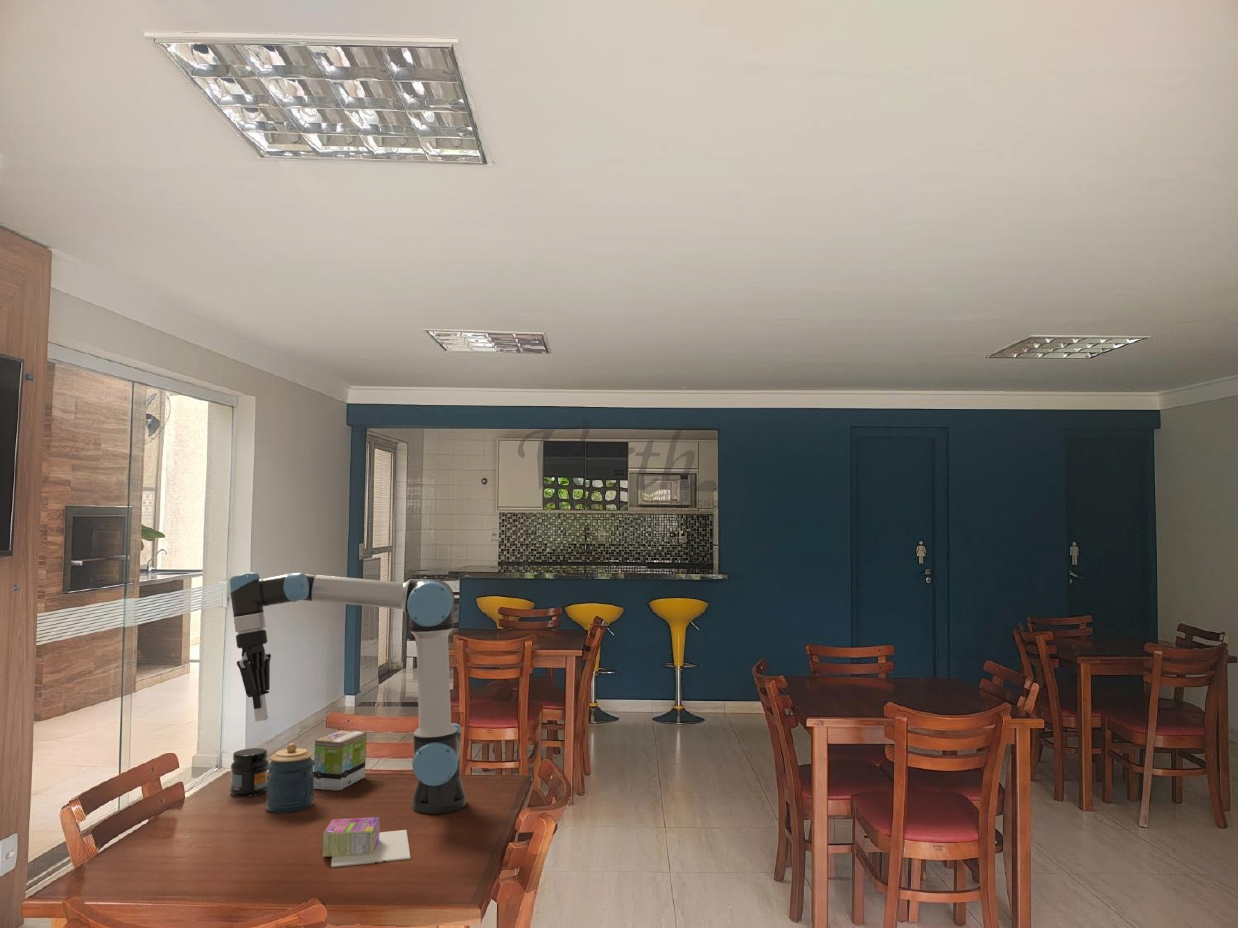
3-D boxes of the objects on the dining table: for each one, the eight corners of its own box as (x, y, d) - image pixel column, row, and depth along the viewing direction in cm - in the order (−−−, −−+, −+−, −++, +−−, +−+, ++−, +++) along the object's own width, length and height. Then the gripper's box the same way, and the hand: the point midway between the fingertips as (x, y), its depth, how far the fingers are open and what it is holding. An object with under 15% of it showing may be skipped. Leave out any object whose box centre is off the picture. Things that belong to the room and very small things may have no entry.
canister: (323, 804, 245) (325, 741, 246) (284, 816, 234) (286, 751, 235) (294, 796, 252) (296, 736, 253) (255, 808, 241) (257, 744, 242)
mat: (406, 831, 222) (406, 829, 222) (410, 858, 203) (410, 857, 203) (334, 838, 217) (334, 836, 217) (331, 867, 198) (331, 865, 198)
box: (332, 818, 214) (380, 816, 215) (331, 841, 214) (379, 839, 215) (322, 832, 204) (372, 830, 205) (321, 856, 203) (372, 855, 204)
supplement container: (275, 789, 259) (276, 749, 260) (247, 799, 249) (249, 757, 250) (250, 785, 263) (251, 746, 264) (221, 795, 254) (223, 753, 255)
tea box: (341, 791, 257) (343, 741, 259) (311, 789, 259) (313, 739, 261) (366, 777, 272) (367, 730, 273) (337, 775, 274) (338, 729, 275)
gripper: (251, 630, 234) (261, 717, 232) (223, 636, 221) (234, 727, 219) (276, 626, 233) (287, 712, 231) (250, 631, 221) (261, 723, 218)
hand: (261, 720), depth 225 cm, fingers closed
